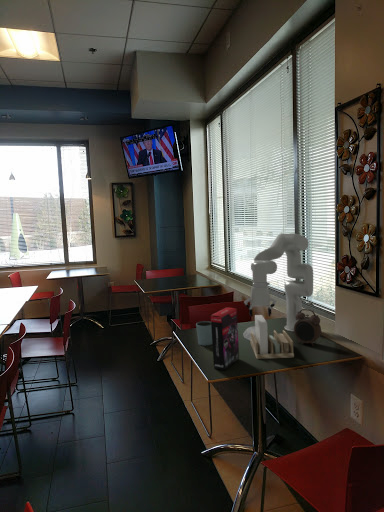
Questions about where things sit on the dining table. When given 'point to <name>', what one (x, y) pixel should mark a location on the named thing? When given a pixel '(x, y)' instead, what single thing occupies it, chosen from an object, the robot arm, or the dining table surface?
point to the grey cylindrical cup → (204, 333)
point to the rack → (270, 347)
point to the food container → (249, 333)
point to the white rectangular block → (261, 334)
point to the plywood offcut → (284, 344)
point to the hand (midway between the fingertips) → (260, 316)
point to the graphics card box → (225, 338)
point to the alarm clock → (307, 327)
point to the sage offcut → (275, 345)
